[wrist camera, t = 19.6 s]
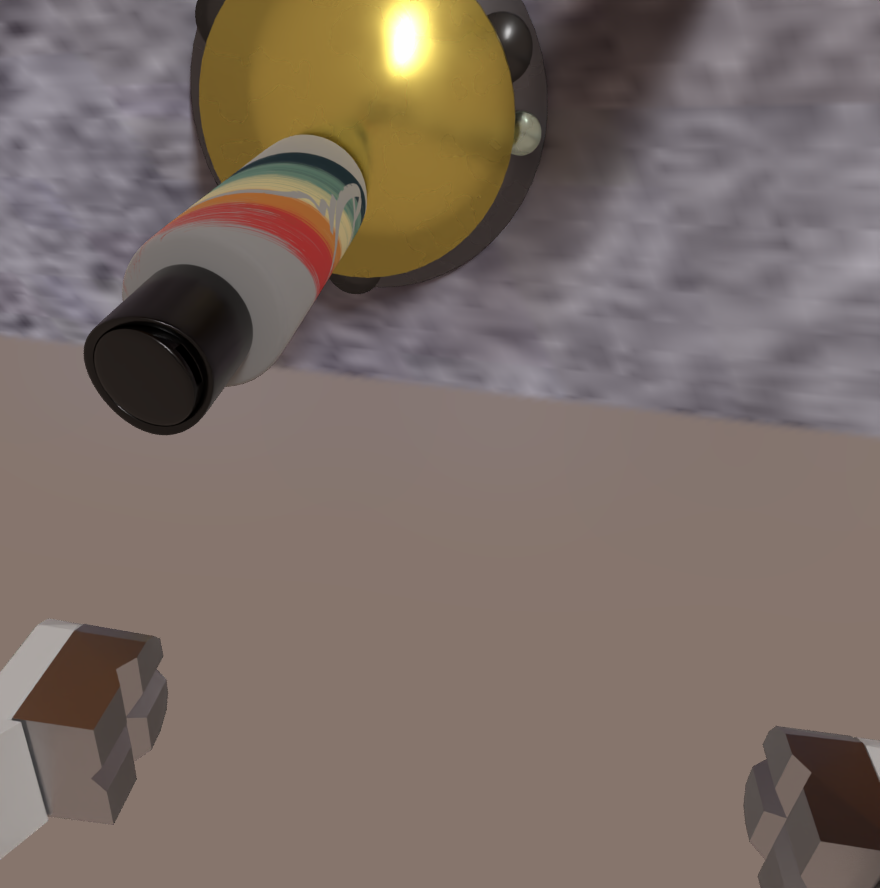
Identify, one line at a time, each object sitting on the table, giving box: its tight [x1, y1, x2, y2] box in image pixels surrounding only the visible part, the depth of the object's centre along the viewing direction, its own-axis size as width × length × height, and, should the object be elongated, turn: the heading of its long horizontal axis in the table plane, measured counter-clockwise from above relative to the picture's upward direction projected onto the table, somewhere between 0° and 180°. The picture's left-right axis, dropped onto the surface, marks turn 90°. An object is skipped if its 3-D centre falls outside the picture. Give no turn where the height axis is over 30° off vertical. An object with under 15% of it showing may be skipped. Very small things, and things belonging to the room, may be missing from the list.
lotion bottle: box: [84, 135, 367, 435], centre depth 31 cm, size 6×6×20 cm
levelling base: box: [191, 0, 547, 294], centre depth 39 cm, size 18×18×3 cm
